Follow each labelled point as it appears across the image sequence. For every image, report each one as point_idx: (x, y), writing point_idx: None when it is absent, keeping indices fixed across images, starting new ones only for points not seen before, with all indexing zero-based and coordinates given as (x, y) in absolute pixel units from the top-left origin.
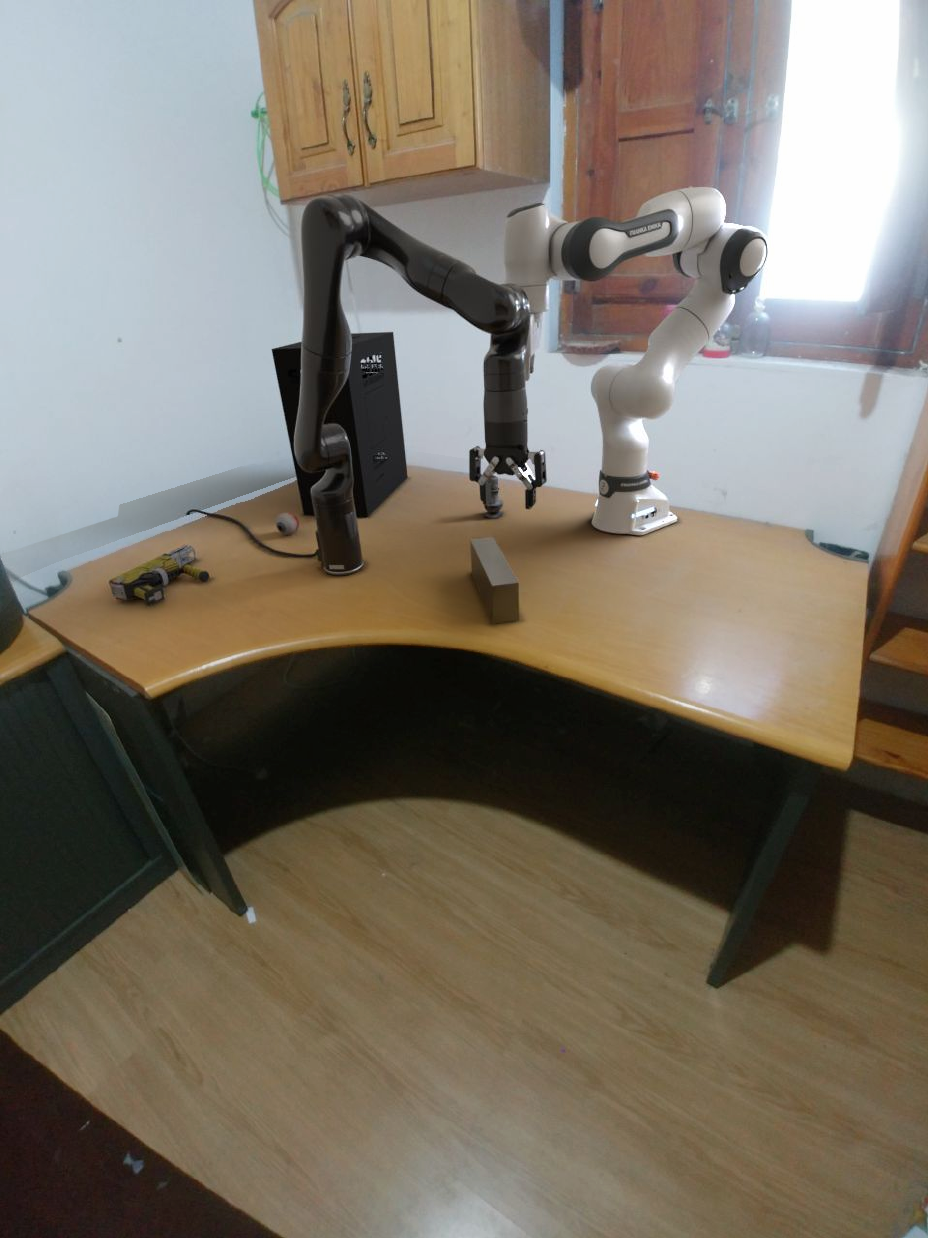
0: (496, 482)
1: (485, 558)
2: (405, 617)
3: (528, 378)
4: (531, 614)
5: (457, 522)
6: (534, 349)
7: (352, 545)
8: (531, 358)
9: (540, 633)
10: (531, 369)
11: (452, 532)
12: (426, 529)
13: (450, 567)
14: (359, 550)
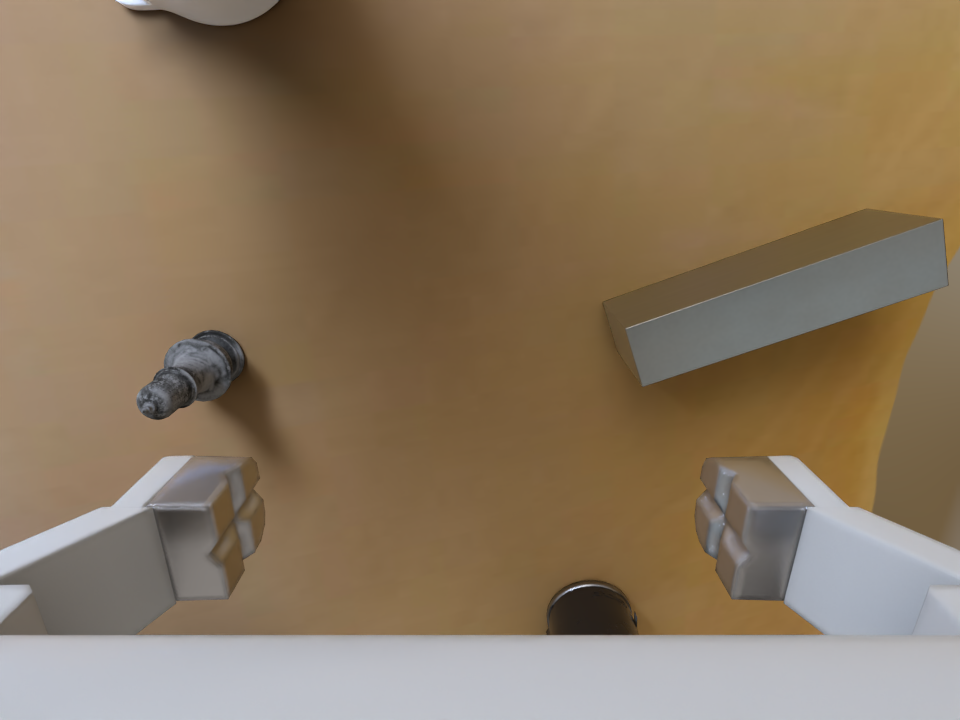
0: (168, 384)
1: (777, 326)
2: (819, 445)
3: (796, 464)
4: (839, 181)
5: (292, 443)
6: (940, 699)
7: (627, 634)
8: (74, 584)
9: (930, 152)
10: (234, 490)
11: (365, 442)
12: (354, 506)
13: (582, 406)
14: (601, 612)
